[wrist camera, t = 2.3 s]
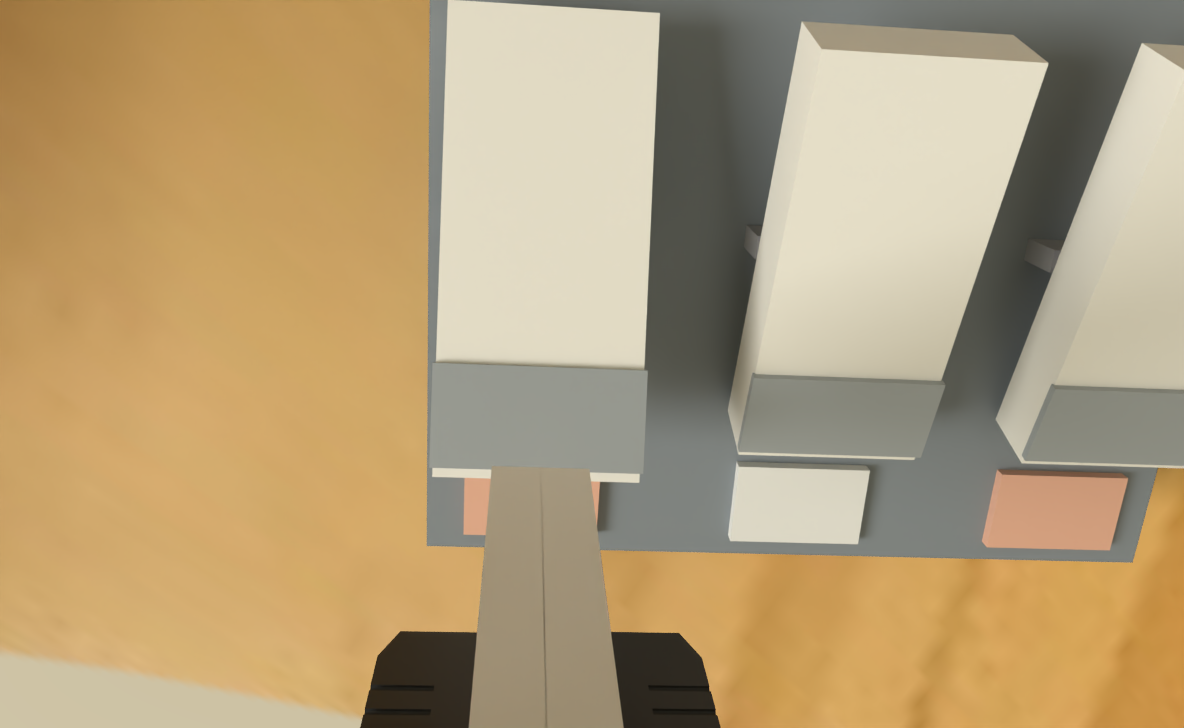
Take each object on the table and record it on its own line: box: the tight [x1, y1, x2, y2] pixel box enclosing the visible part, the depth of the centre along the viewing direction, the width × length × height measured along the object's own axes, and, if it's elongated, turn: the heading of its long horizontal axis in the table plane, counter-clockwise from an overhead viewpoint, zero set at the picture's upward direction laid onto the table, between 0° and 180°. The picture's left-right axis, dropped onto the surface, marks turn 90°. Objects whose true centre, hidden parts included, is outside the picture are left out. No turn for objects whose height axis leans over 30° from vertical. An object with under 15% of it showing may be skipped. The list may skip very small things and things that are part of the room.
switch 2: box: [728, 21, 1049, 460], centre depth 20 cm, size 9×4×2 cm, turn 176°
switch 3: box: [996, 43, 1184, 468], centre depth 21 cm, size 9×4×2 cm, turn 176°
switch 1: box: [429, 0, 660, 483], centre depth 20 cm, size 9×4×2 cm, turn 177°
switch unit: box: [427, 0, 1184, 562], centre depth 24 cm, size 16×18×6 cm
